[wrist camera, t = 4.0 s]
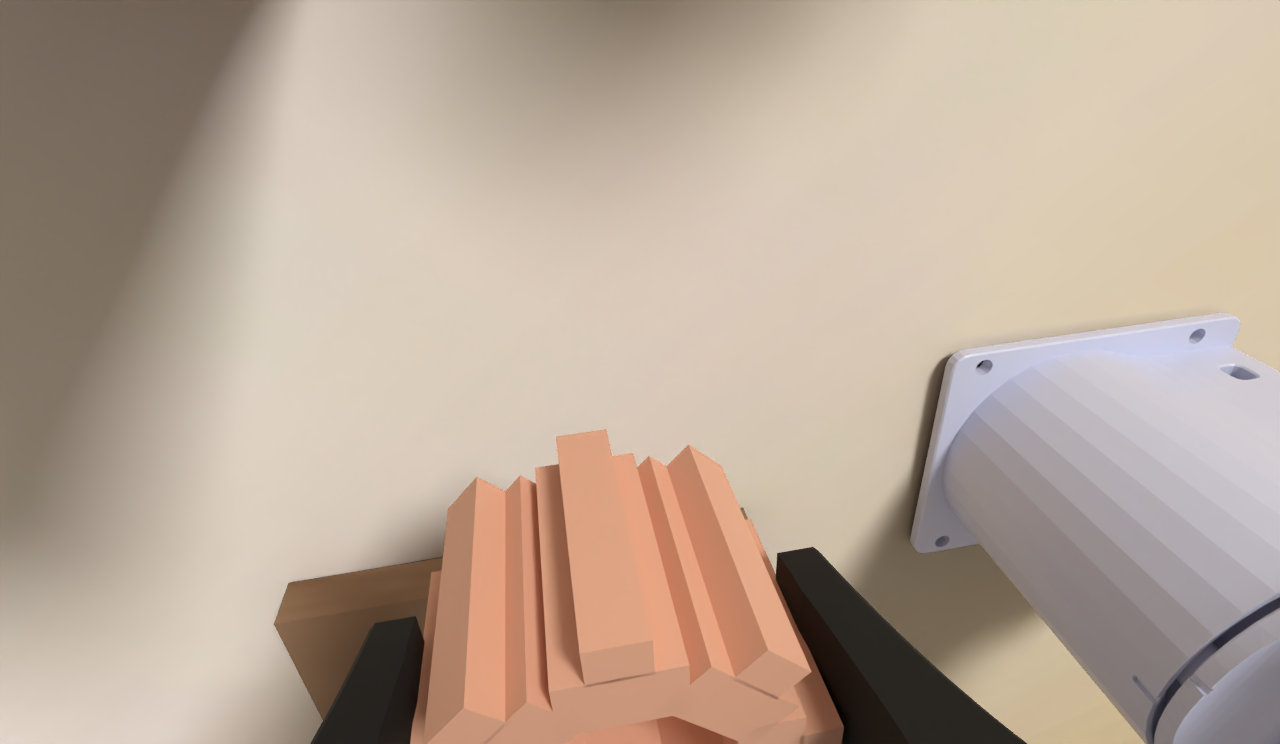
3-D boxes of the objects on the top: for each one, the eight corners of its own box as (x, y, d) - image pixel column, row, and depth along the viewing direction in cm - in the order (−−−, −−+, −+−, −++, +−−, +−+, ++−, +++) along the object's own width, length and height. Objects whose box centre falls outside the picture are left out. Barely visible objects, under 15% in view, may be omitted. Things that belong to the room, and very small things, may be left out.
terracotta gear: (754, 407, 11) (865, 600, 8) (746, 635, 14) (823, 848, 11) (396, 460, 10) (343, 696, 7) (466, 688, 13) (454, 932, 10)
